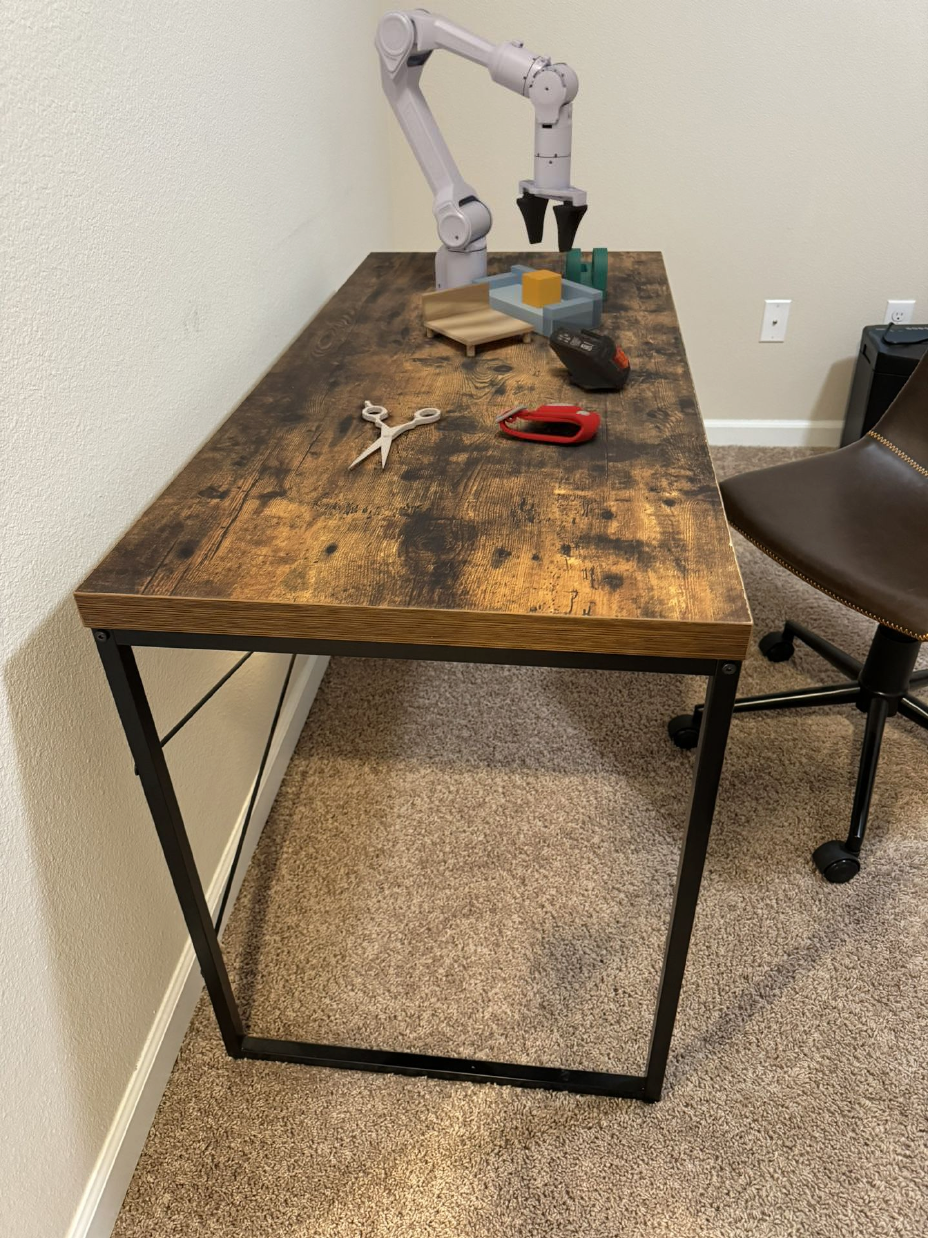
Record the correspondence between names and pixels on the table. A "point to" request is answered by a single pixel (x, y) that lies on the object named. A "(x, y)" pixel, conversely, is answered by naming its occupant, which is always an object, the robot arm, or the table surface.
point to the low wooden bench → (469, 316)
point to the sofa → (572, 312)
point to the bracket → (588, 269)
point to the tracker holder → (552, 414)
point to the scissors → (392, 433)
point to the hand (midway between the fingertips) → (550, 247)
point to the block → (541, 288)
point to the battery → (590, 358)
